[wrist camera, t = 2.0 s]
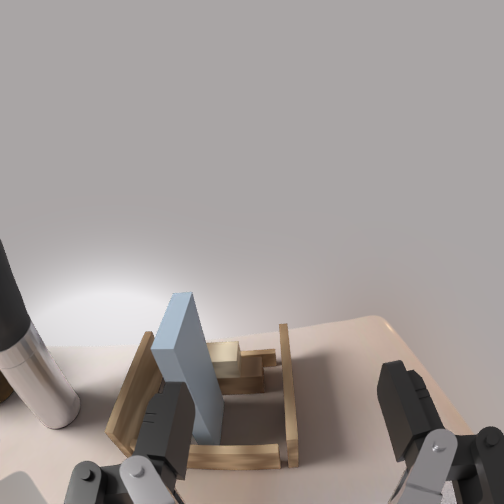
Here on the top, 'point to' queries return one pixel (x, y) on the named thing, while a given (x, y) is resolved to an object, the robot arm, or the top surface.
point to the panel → (190, 365)
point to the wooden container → (4, 388)
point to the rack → (201, 456)
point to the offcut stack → (236, 369)
